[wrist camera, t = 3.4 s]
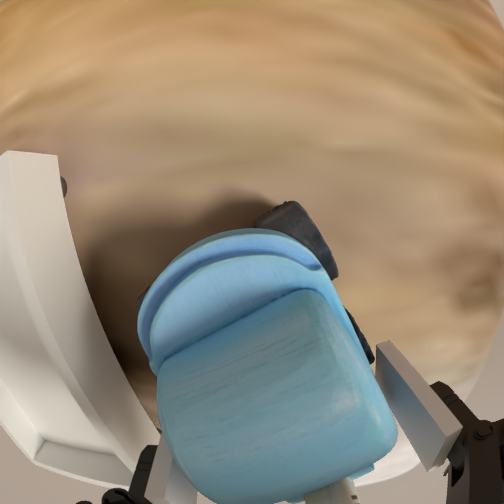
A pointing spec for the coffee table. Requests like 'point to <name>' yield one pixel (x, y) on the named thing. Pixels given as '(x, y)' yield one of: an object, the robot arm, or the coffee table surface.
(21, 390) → the white tray
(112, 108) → the coffee table surface
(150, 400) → the coffee table surface
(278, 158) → the coffee table surface
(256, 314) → the toy excavator
